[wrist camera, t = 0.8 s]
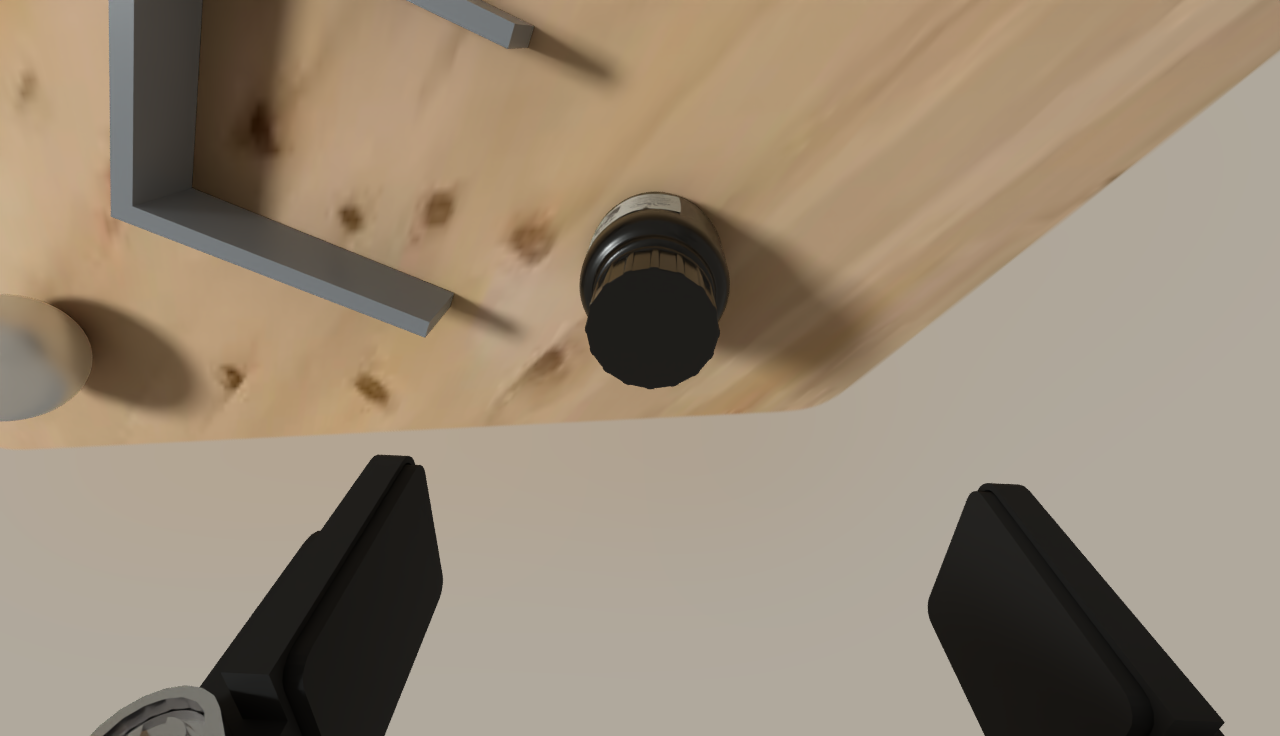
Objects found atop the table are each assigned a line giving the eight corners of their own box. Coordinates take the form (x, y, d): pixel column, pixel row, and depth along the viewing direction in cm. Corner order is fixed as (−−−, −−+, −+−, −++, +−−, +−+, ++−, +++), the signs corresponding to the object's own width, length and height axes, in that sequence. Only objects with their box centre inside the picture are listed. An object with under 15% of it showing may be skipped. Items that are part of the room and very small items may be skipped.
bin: (186, -144, 31) (106, -175, 26) (534, 26, 34) (514, 23, 30) (172, 197, 40) (110, 216, 35) (449, 307, 43) (425, 337, 38)
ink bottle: (653, 155, 37) (649, 200, 27) (752, 245, 40) (784, 318, 29) (561, 266, 41) (525, 343, 30) (657, 342, 43) (654, 438, 33)
